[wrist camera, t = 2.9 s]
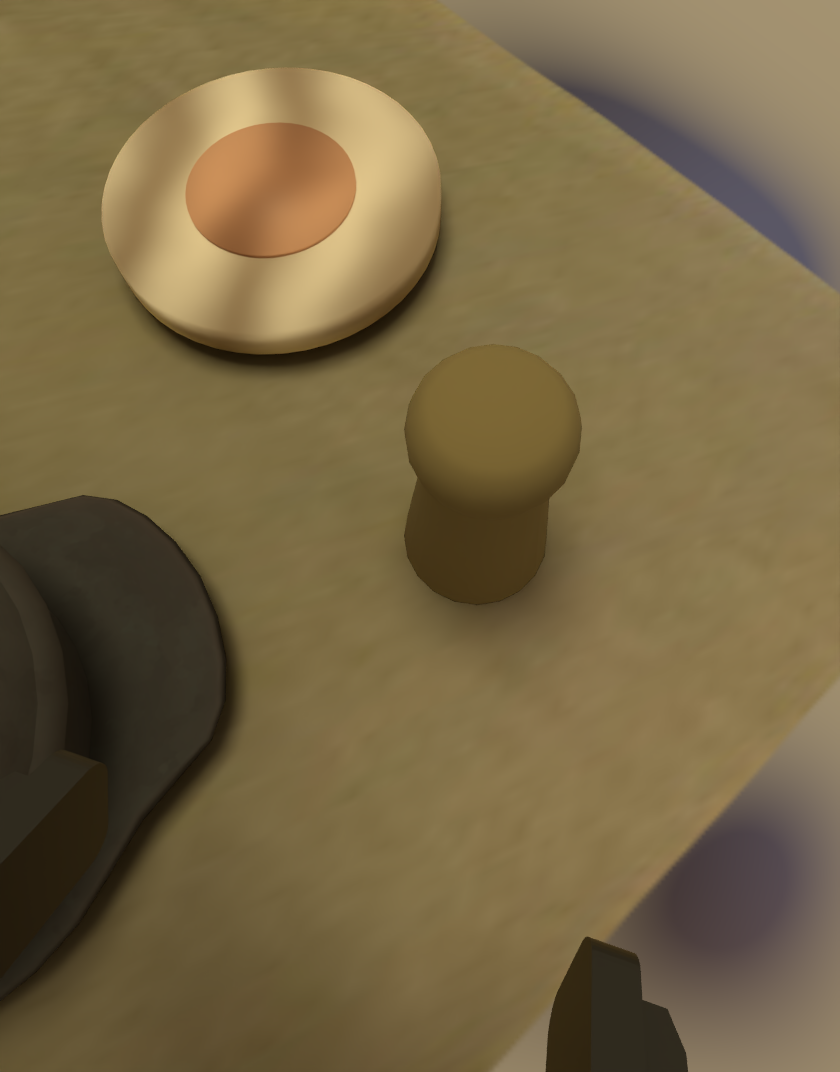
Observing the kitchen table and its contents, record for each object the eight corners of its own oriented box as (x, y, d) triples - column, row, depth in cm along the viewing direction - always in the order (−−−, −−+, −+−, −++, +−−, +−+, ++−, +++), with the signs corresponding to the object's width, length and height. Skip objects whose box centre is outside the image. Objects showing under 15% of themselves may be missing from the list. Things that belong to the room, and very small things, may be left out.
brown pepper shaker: (542, 469, 30) (598, 308, 20) (550, 604, 28) (618, 504, 18) (405, 470, 30) (388, 311, 20) (403, 604, 28) (384, 505, 18)
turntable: (96, 362, 32) (66, 325, 30) (154, 112, 38) (133, 62, 35) (435, 371, 32) (435, 334, 29) (445, 116, 37) (446, 65, 34)
